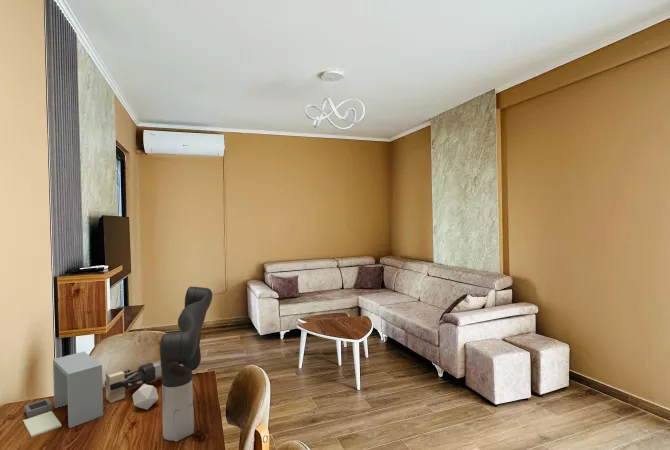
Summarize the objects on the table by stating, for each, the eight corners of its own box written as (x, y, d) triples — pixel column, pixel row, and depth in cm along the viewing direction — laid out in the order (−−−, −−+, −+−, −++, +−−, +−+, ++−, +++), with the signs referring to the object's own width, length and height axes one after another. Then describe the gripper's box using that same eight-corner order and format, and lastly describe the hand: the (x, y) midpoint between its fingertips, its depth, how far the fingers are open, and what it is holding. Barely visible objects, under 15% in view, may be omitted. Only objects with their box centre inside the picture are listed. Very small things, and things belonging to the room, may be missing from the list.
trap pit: (52, 410, 133) (52, 404, 133) (28, 419, 128) (27, 412, 128) (48, 404, 138) (47, 398, 138) (24, 412, 132) (24, 405, 132)
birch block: (125, 397, 142) (124, 373, 142) (110, 402, 138) (110, 377, 138) (120, 394, 145) (119, 369, 145) (106, 398, 142) (105, 373, 142)
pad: (61, 426, 123) (61, 424, 123) (31, 437, 117) (31, 435, 117) (51, 412, 132) (51, 410, 132) (23, 421, 126) (23, 420, 126)
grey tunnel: (103, 415, 129) (101, 364, 129) (69, 428, 122) (68, 374, 122) (85, 397, 143) (84, 351, 143) (54, 407, 135) (52, 359, 135)
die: (163, 405, 137) (160, 380, 142) (151, 404, 130) (148, 378, 134) (142, 414, 136) (140, 389, 141) (129, 414, 129) (126, 387, 133)
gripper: (145, 358, 157) (101, 371, 144) (160, 366, 148) (114, 381, 135) (145, 375, 157) (101, 389, 145) (160, 384, 148) (114, 401, 135)
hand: (108, 385), depth 140 cm, fingers closed on birch block, 5 cm apart
